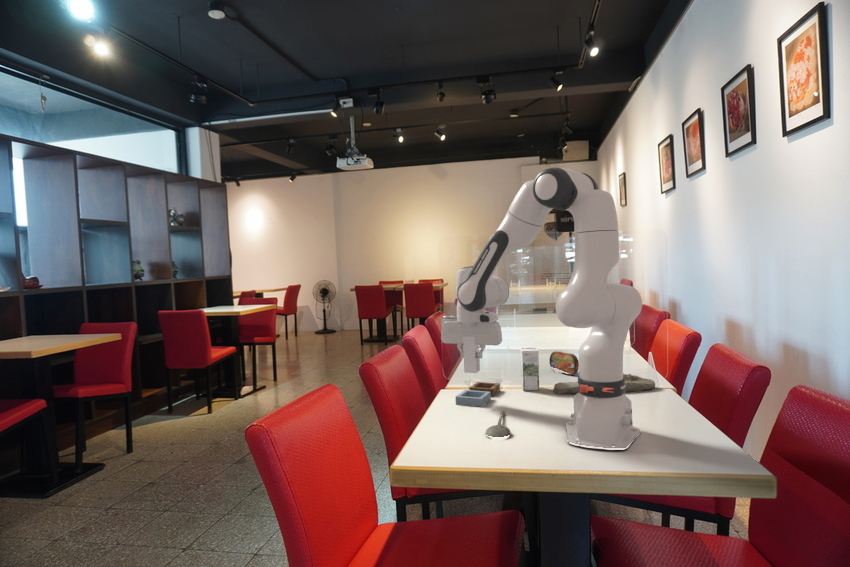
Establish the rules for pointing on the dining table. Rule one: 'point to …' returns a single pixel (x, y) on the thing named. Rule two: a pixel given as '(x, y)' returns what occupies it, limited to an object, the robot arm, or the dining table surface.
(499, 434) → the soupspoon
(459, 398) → the pair of square sockets
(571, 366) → the tin
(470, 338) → the steel peg
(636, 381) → the elongated rock
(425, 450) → the dining table surface
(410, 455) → the dining table surface
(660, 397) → the dining table surface
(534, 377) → the syrup box
